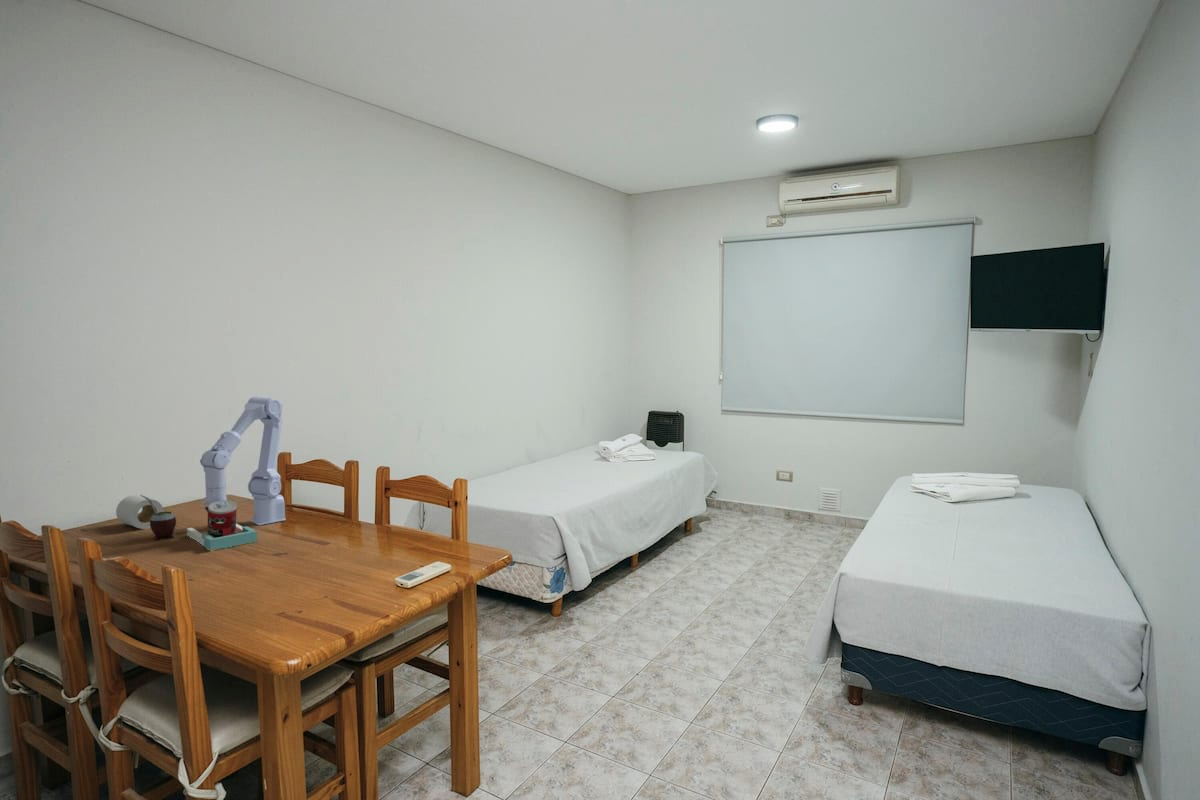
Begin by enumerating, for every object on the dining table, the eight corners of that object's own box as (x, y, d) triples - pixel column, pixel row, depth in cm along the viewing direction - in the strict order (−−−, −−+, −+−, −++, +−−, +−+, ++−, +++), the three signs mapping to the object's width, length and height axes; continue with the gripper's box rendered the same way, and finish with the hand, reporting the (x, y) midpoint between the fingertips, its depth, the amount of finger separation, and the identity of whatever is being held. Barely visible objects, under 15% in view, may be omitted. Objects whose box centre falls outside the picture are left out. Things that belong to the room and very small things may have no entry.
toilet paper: (163, 525, 229) (162, 496, 228) (131, 532, 220) (130, 502, 219) (149, 520, 234) (147, 492, 233) (116, 527, 225) (115, 498, 224)
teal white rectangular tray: (231, 527, 227) (231, 517, 227) (257, 541, 213) (256, 531, 213) (186, 536, 217) (186, 525, 217) (210, 551, 203) (210, 540, 203)
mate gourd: (181, 535, 218) (179, 490, 217) (163, 542, 210) (161, 496, 209) (160, 534, 219) (158, 489, 217) (141, 541, 211) (139, 495, 210)
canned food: (202, 535, 213) (202, 505, 210) (226, 526, 220) (227, 497, 217) (216, 545, 210) (217, 514, 206) (240, 536, 217) (241, 506, 213)
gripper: (194, 485, 218) (195, 525, 219) (210, 492, 208) (211, 535, 210) (218, 481, 223) (219, 521, 224) (234, 489, 213) (235, 530, 215)
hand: (217, 527), depth 217 cm, fingers closed
